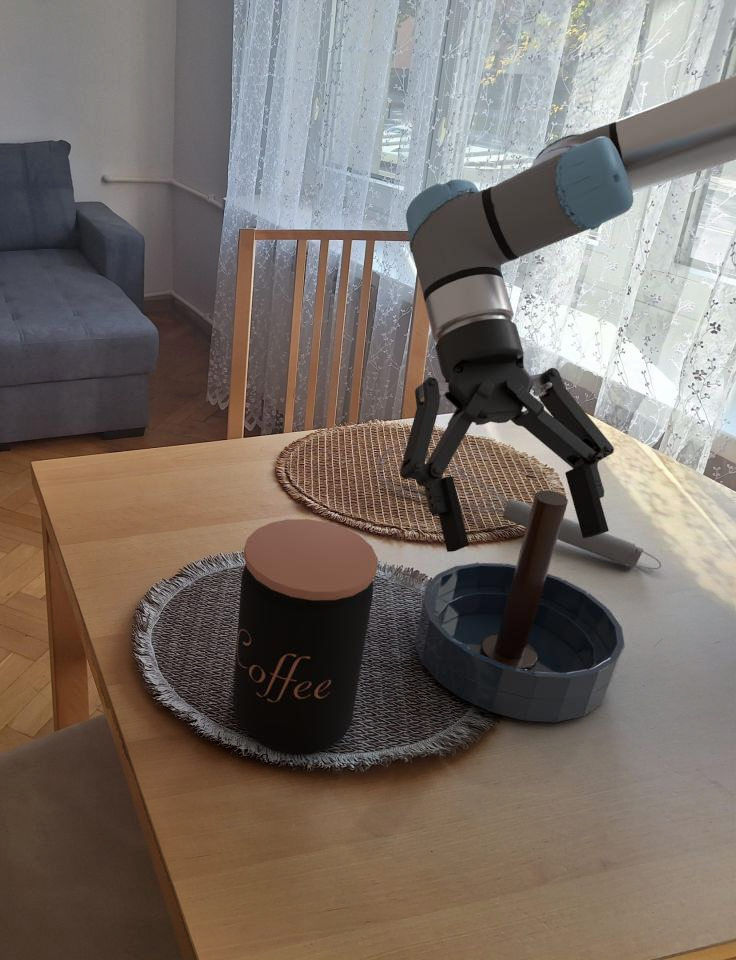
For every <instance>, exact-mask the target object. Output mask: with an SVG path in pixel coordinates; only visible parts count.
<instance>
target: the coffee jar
mask: <svg viewBox="0 0 736 960" xmlns="http://www.w3.org/2000/svg"><path fill="white" fill-rule="evenodd" d="M243 559H244V563H245V564H244V567H243V570H242V574H241V579H240V580H241V581H240V591H239V592H240V593H239V605H238V607H239V608H238V619H237V634H236V635H237V636H236V646H235V647H236V648H235V661H234V673H233V675H234V676H233V686H232V705H233V711H234V715H235V716H236V718H237V720H238V722H239V723H240V724H241V726H242V728H243V729H244V730H245V731H246V732H247V734H248V735H249V736H251V737H252V738H253V739H254V740H255V741H256V742H258V743H259V744H260V745H262V746H264V747H266V748H268V749H270V750H272V751H274V752H277V753H282V754H287V755H292V756H299V755H300V756H301V755H303V756H305V755H309V756H310V755H312V754H316V753H317V754H318V753H320V752H323V751H326V750H327V749H329V748H330V747H332V746H334V745H335V744H336V743H339V742H340V741H341V740H342V739H343V738H344V737H345V735H346V734H347V733H348V731H349V729H350V728H351V726H352V722H353V717H354V710H355V705H356V699H357V692H358V686H359V681H360V675H361V669H362V665H363V657H364V651H365V646H366V640H367V633H368V627H369V621H370V615H371V609H372V604H373V597H374V579H375V578H376V576H377V575H376V574H377V571H378V561H379V559H378V556H377V554H376V552H375V550H374V548H373V546H372V545H371V544H370V543H368V541H367V540H366V539H364V537H362V536H361V535H360V534H357V533H356V532H354V531H352V530H350V529H348V528H346V527H345V526H344V527H343V526H341V525H337V524H334V523H331V522H329V521H323V520H317V519H316V520H315V519H310V518H309V519H308V518H290V519H284V520H279V521H272V522H269V523H267V524H265V525H262V526H261V527H258V528H257V529H255V530H254V531H253V532H252V533H251V534H250V535H249V536H248V537H247V538H246V541H245V544H244V548H243Z"/></svg>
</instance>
